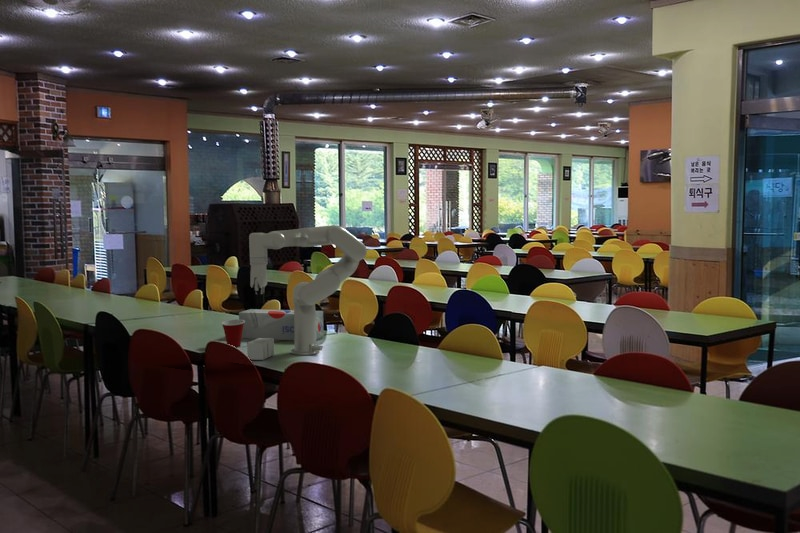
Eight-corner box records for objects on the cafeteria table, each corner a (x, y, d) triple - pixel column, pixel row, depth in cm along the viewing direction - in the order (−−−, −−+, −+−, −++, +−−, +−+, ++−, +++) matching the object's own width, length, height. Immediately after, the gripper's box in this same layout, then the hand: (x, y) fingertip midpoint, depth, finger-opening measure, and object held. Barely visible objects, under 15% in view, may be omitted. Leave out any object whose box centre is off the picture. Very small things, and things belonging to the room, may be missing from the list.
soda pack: (324, 338, 377) (324, 310, 376) (314, 342, 365) (314, 314, 364) (250, 334, 388) (249, 307, 387) (238, 338, 375) (237, 311, 374)
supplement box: (274, 354, 332) (263, 360, 320) (259, 353, 334) (246, 359, 322) (274, 338, 332) (262, 343, 319) (258, 337, 333) (246, 342, 321)
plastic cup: (216, 347, 351) (216, 321, 350) (232, 343, 361) (231, 318, 360) (235, 349, 346) (234, 323, 345) (250, 345, 356) (249, 320, 355)
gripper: (255, 259, 337) (257, 300, 339) (244, 262, 322) (246, 305, 324) (272, 259, 336) (273, 300, 338) (261, 262, 321) (263, 305, 323)
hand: (260, 303), depth 331 cm, fingers closed
